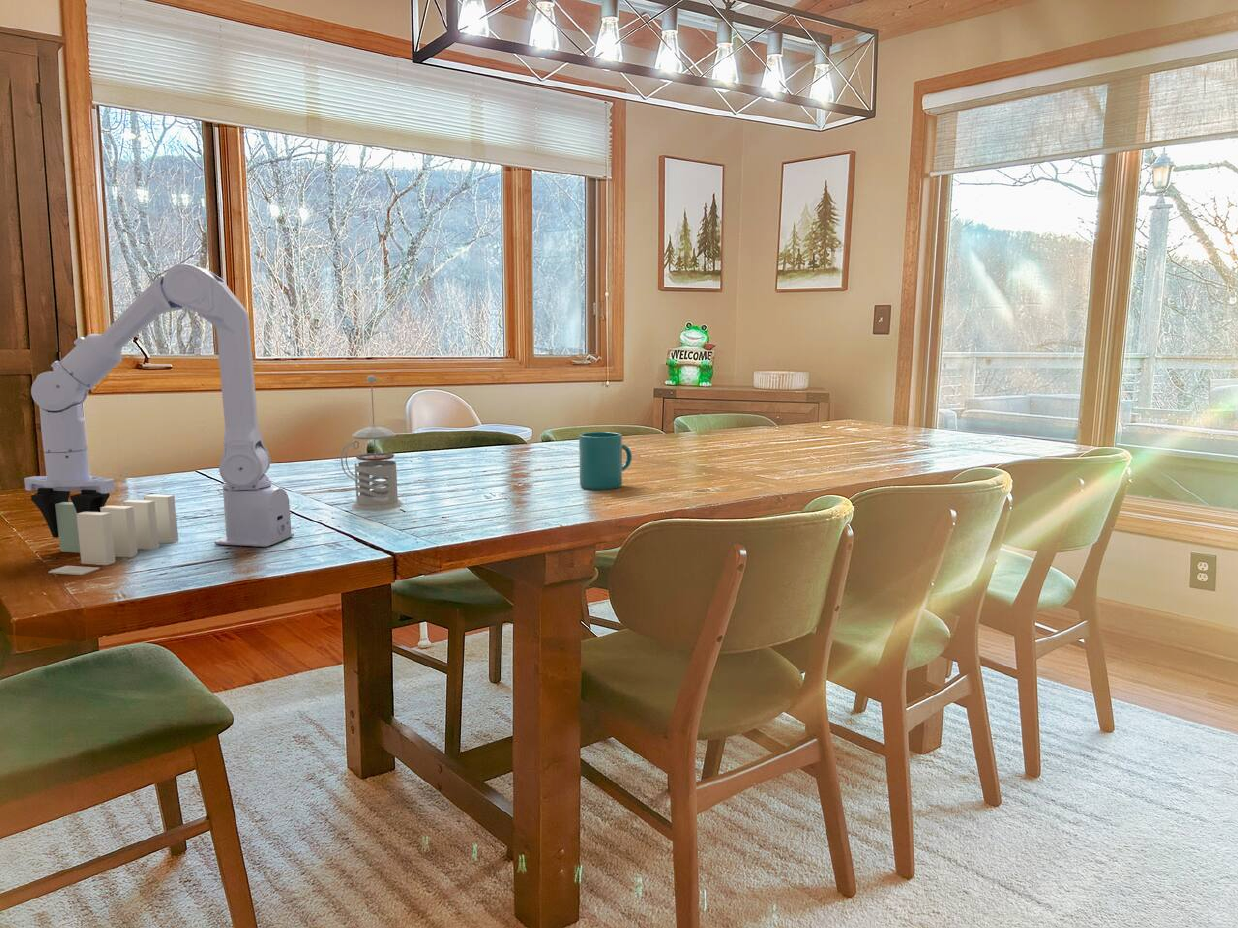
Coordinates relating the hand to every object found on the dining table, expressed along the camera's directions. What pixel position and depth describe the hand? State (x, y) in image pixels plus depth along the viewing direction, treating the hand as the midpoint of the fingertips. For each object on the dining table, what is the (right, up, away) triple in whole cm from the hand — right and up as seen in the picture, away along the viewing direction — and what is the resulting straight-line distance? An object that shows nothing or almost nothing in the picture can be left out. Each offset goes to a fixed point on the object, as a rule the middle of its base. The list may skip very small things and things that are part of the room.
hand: (74, 537), depth 138 cm
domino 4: (+10, -2, +2) cm, 10 cm away
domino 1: (0, -2, 0) cm, 2 cm away
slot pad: (+7, -4, -11) cm, 14 cm away
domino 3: (+9, -3, -2) cm, 9 cm away
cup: (+82, +6, +53) cm, 98 cm away
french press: (+37, +3, +34) cm, 50 cm away
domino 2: (+8, -3, -7) cm, 11 cm away
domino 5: (+10, -1, +6) cm, 12 cm away
